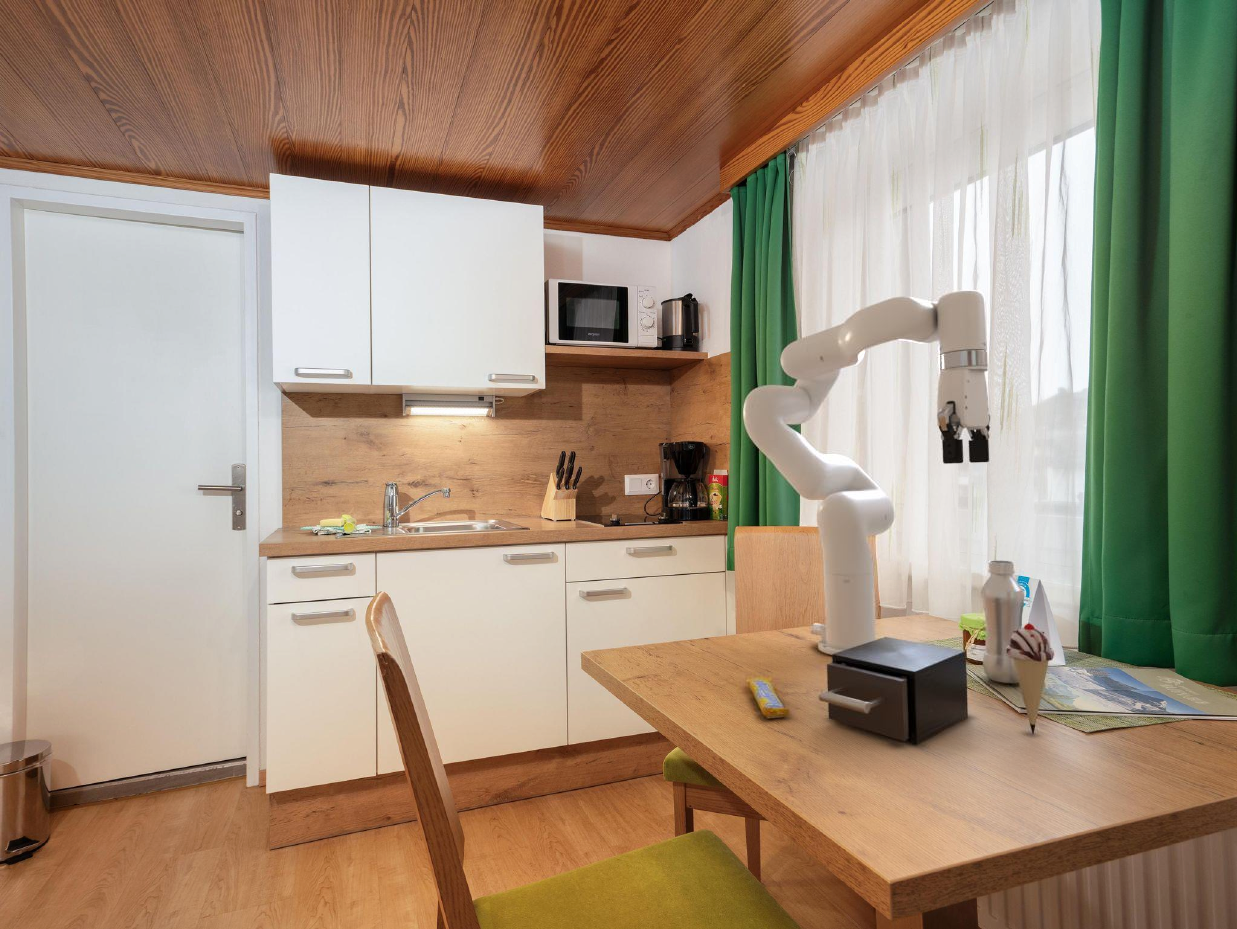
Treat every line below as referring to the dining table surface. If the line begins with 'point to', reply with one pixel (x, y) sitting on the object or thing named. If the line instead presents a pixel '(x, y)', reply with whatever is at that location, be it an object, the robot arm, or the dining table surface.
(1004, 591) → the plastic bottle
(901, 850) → the dining table surface
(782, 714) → the candy bar
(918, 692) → the small drawer cabinet
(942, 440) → the robot arm
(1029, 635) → the ice cream cone
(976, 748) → the dining table surface
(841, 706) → the pull-out drawer
